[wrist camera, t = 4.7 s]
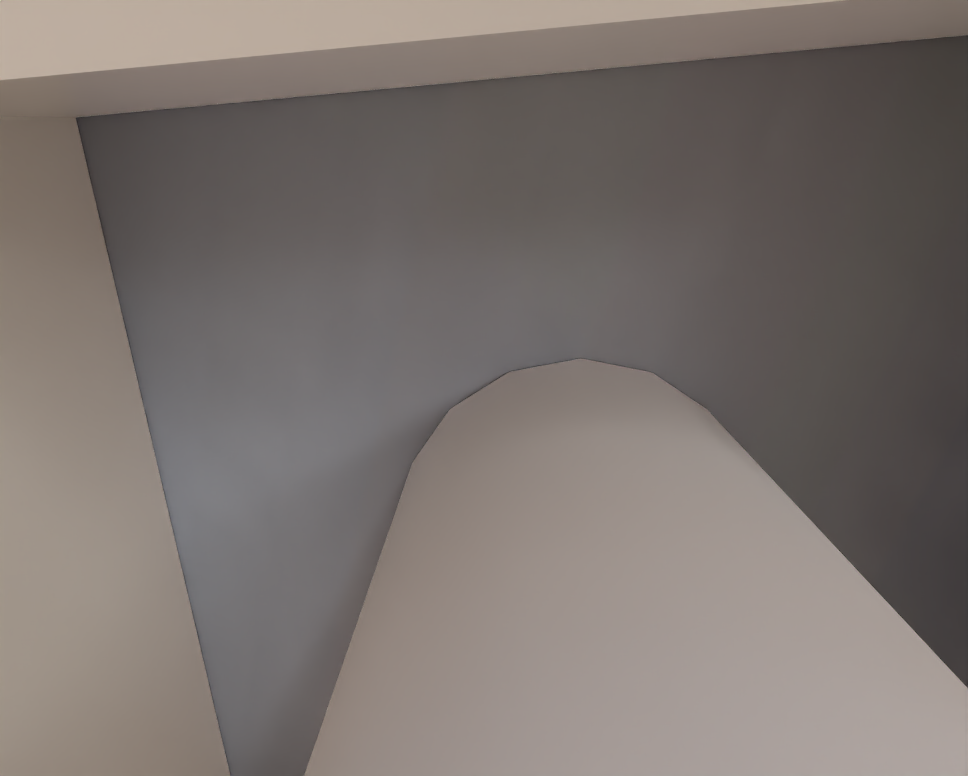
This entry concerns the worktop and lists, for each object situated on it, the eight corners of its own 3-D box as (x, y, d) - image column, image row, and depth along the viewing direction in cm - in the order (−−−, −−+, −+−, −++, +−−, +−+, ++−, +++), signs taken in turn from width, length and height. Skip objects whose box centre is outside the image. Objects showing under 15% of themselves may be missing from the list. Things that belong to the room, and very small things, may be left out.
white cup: (365, 329, 12) (-77, 1054, 3) (801, 331, 12) (1907, 1075, 3) (381, 690, 14) (166, 1808, 5) (753, 692, 14) (1274, 1825, 5)
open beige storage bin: (1161, -49, 10) (1958, -249, 5) (1013, 853, 15) (1318, 1283, 10) (5, 62, 11) (-514, -3, 5) (219, 897, 16) (67, 1328, 10)
